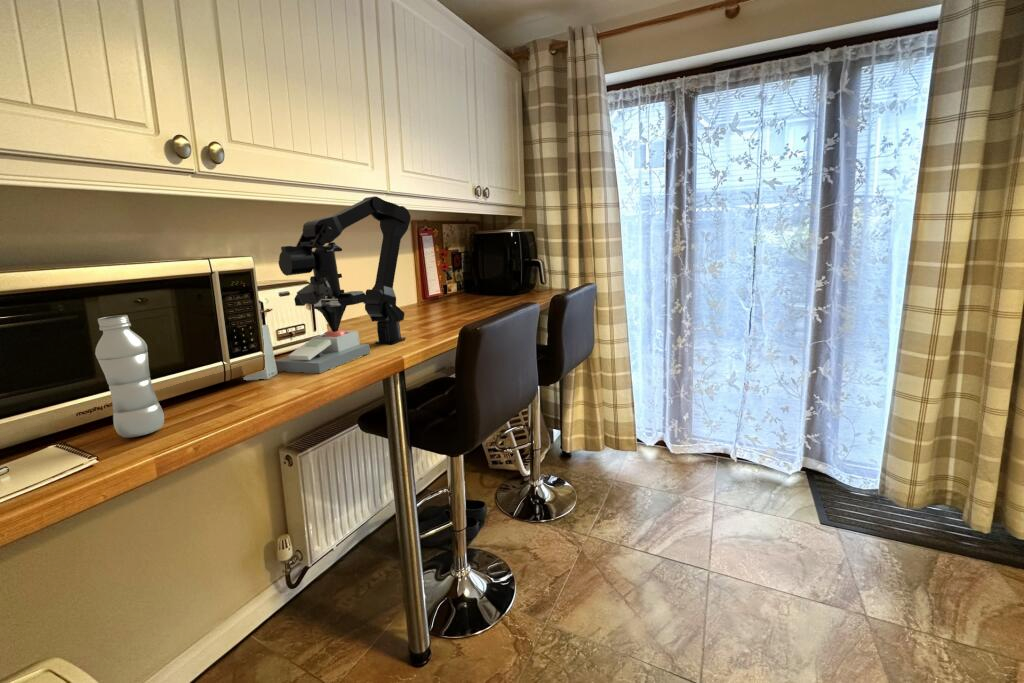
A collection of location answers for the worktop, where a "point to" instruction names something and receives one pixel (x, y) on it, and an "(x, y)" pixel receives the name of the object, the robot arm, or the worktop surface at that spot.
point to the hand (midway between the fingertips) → (335, 331)
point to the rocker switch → (309, 349)
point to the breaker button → (334, 333)
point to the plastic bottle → (128, 378)
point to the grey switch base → (328, 354)
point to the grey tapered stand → (266, 359)
